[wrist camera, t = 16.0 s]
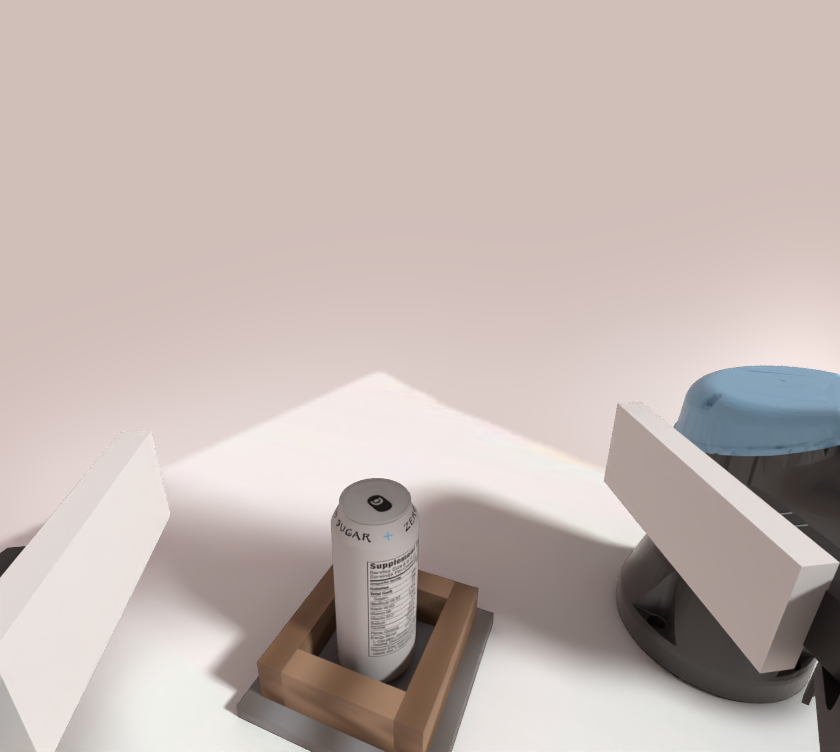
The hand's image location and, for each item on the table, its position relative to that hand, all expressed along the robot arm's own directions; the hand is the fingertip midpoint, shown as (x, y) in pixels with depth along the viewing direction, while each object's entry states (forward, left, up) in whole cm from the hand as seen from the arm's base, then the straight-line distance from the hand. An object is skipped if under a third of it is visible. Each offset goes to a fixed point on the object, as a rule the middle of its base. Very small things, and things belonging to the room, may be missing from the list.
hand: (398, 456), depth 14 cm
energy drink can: (+8, -14, -28) cm, 32 cm away
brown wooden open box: (+8, -14, -29) cm, 33 cm away
